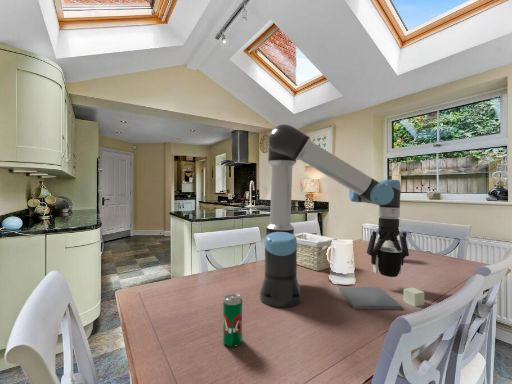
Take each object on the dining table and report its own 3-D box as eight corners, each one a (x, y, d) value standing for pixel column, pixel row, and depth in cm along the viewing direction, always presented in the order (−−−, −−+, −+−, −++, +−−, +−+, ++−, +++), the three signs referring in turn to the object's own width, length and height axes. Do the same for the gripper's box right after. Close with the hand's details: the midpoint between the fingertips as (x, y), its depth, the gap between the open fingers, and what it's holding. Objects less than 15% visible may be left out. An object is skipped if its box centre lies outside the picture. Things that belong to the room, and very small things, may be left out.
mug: (406, 276, 102) (407, 251, 102) (391, 279, 98) (392, 253, 98) (380, 267, 113) (381, 244, 113) (365, 270, 109) (366, 246, 109)
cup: (380, 258, 148) (380, 237, 148) (391, 257, 150) (391, 237, 150) (391, 262, 140) (391, 240, 140) (403, 261, 143) (403, 239, 142)
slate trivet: (353, 308, 87) (353, 305, 87) (338, 289, 103) (338, 286, 103) (401, 309, 87) (401, 305, 87) (379, 290, 103) (379, 287, 103)
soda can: (243, 336, 70) (243, 293, 70) (241, 348, 65) (241, 301, 65) (224, 336, 71) (224, 292, 70) (221, 347, 66) (221, 301, 65)
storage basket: (283, 261, 142) (283, 234, 142) (304, 256, 152) (304, 231, 152) (317, 273, 123) (317, 242, 123) (338, 267, 133) (338, 238, 132)
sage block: (414, 306, 89) (414, 293, 89) (403, 301, 93) (403, 288, 93) (424, 304, 90) (424, 292, 90) (412, 299, 94) (412, 287, 94)
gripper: (366, 218, 101) (364, 275, 102) (421, 219, 101) (418, 276, 102) (359, 215, 109) (357, 268, 109) (409, 217, 109) (407, 270, 109)
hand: (386, 272), depth 105 cm, fingers closed on mug, 9 cm apart
